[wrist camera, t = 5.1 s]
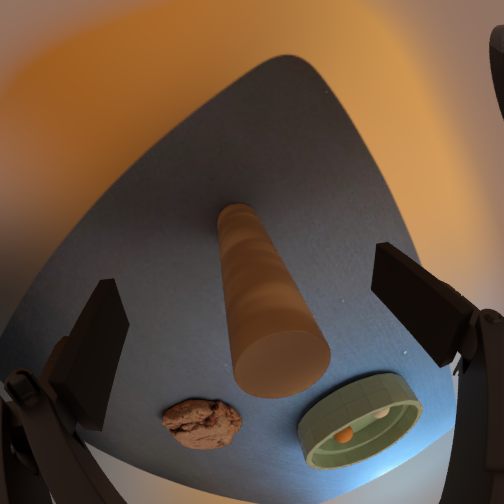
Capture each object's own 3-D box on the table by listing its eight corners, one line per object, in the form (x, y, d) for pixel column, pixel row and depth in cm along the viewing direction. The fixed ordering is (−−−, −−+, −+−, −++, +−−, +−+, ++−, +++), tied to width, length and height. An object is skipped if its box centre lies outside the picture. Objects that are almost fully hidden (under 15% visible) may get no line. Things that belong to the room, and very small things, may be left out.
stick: (256, 200, 22) (336, 322, 8) (259, 239, 23) (326, 388, 9) (214, 205, 21) (227, 340, 8) (219, 244, 23) (239, 404, 9)
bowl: (417, 355, 33) (439, 383, 28) (387, 421, 40) (401, 445, 35) (298, 389, 31) (312, 428, 26) (293, 449, 39) (302, 478, 33)
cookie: (178, 441, 34) (178, 458, 31) (152, 400, 29) (150, 420, 26) (247, 433, 34) (250, 451, 32) (234, 391, 30) (237, 411, 27)
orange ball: (350, 418, 35) (357, 433, 33) (347, 428, 37) (353, 442, 34) (332, 424, 35) (338, 439, 32) (329, 433, 36) (335, 448, 34)
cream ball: (386, 391, 34) (395, 406, 31) (382, 403, 35) (390, 417, 33) (368, 398, 34) (377, 413, 31) (364, 409, 35) (372, 424, 32)
